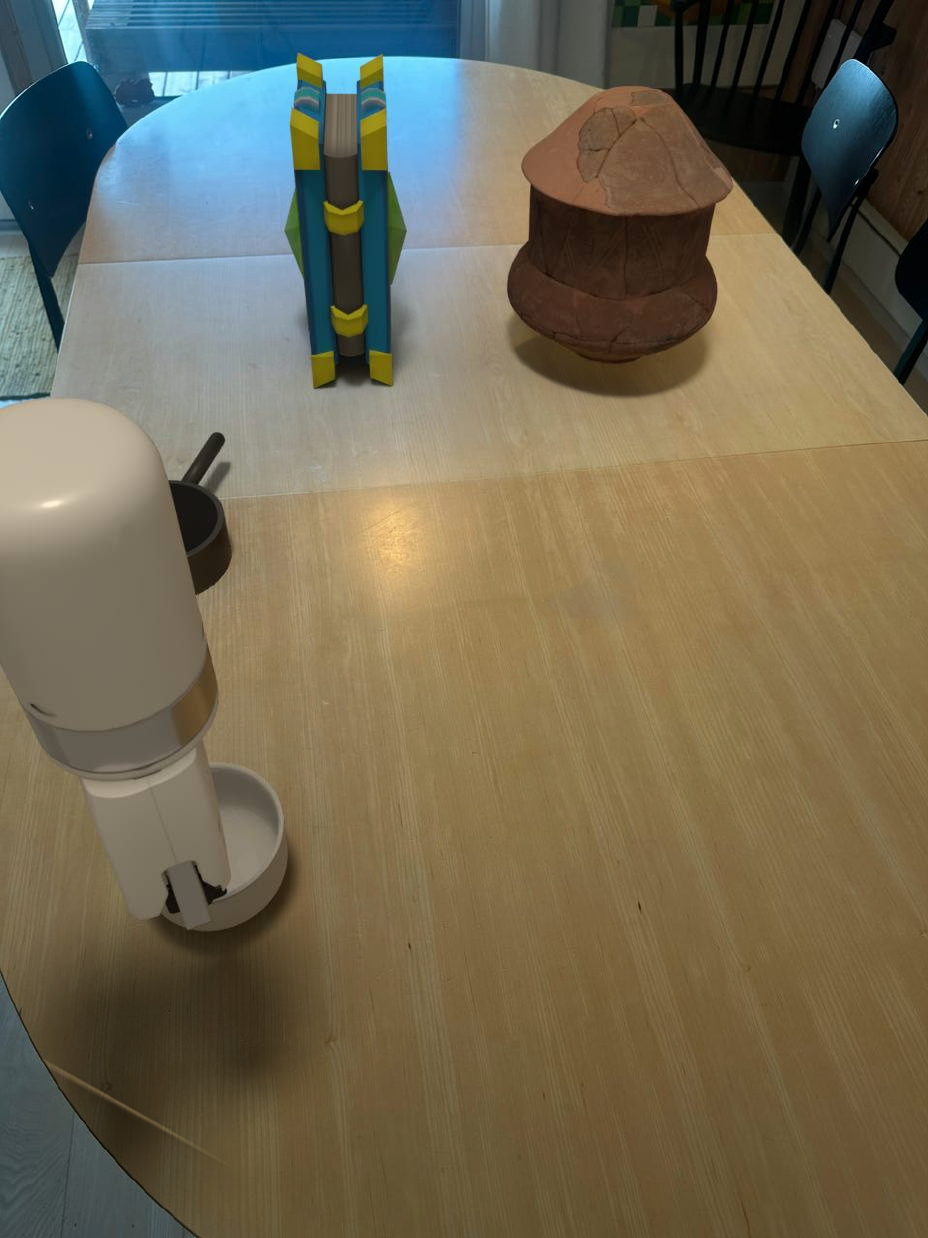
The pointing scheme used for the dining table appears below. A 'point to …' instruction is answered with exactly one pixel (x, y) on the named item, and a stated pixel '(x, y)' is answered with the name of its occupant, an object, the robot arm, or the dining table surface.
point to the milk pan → (202, 519)
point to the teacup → (246, 845)
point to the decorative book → (344, 218)
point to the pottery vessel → (619, 228)
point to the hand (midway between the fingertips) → (196, 892)
